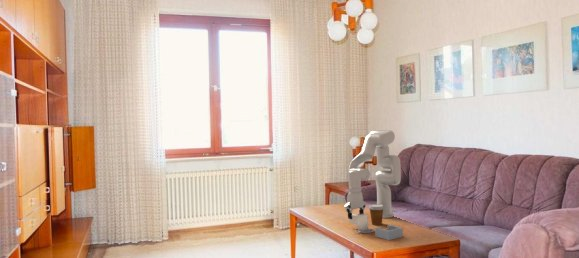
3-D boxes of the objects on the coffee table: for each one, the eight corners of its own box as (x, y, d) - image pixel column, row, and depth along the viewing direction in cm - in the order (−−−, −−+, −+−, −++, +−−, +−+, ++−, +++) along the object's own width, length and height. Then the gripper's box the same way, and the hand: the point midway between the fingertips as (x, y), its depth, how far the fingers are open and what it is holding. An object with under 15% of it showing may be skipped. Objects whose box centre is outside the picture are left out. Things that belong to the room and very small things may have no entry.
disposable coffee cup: (373, 226, 273) (372, 207, 273) (366, 223, 283) (366, 204, 282) (387, 224, 276) (386, 206, 276) (380, 221, 285) (379, 203, 285)
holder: (389, 232, 257) (388, 224, 257) (402, 236, 249) (402, 227, 249) (375, 236, 251) (375, 227, 251) (388, 240, 242) (388, 231, 242)
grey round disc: (365, 228, 269) (365, 227, 269) (377, 231, 261) (377, 230, 261) (353, 231, 264) (353, 230, 264) (365, 234, 256) (365, 233, 256)
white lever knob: (370, 229, 263) (370, 214, 263) (363, 231, 260) (362, 216, 259) (355, 225, 274) (354, 211, 274) (347, 227, 270) (347, 213, 270)
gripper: (360, 187, 277) (361, 214, 277) (340, 191, 267) (341, 218, 267) (369, 189, 270) (370, 216, 271) (348, 192, 261) (349, 220, 261)
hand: (355, 217), depth 269 cm, fingers open, 9 cm apart
